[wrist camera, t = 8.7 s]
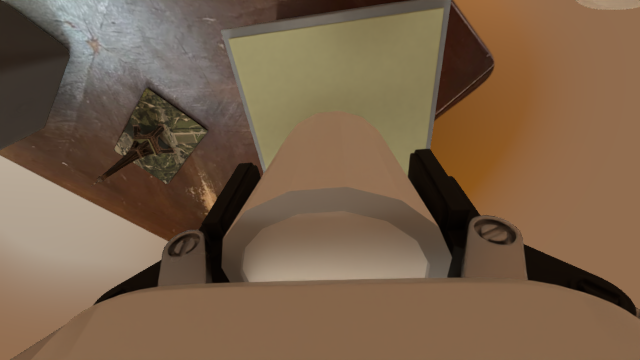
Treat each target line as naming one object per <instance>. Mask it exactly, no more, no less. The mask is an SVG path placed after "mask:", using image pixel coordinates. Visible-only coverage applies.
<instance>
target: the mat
mask: <svg viewBox="0 0 640 360" xmlns="http://www.w3.org/2000/svg"><path fill="white" fill-rule="evenodd" d="M443 14H444V8H435V9H428V10H421V11H414V12H407V13H400V14H393V15H386V16H380V17H373V18H366V19H359V20H352V21H345V22H338V23H331V24H324V25H317V26H311V27H304V28H297V29H290V30H283V31H276V32H269V33H262V34H255V35H248V36H242V37H235V38H229V39H228V40H229V44H230V47H231V50H232V54H233V57H234V61H235V64H236V68H237V71H238V74H239V78H240V81H241V85H242V88H243V92H244V95H245V98H246V102H247V105H248V109H249V112H250V116H251V119H252V122H253V126H254V129H255V133H256V136H257V140H258V143H259V146H260V150H261V153H262V157H263V160H264V164H265V167H266V169H267V168H268V166H269V165H270V163H271V162H272V160H273V158H274V157H275V155H276V154H277V152H278V150H279V149H280V147H281V146H282V144H283V142H284V141H285V139H286V138H287V137H288V135H289V134H290V133H291V131H292V130H293V129H294V127H295V126H296V125H297V124H298V123H300V122H302V121H303V120H305V119H307V118H309V117H311V116H312V115H314V114H316V113H323V112H332V111H343V112H346V113H350V114H353V115H357V116H360V117H362V118H364V119H365V120H366V121H367V122H369V123H370V124H371V125H372V126H374V127H375V128H376V129H377V130H378V131H379V132H380V134H381V135H382V137H383V139H384V140H385V142H386V143H387V145H388V147H389V148H390V150H391V151H392V153H393V155H394V156H395V158H396V159H397V161H398V163H399V164H400V166H401V167H402V169H403V171H404V172H405V174H406V175H407V177H408V169H409V159H410V154H411V153H414V152H415V150H417V149H426V144H427V136H428V128H429V121H430V113H431V106H432V98H433V90H434V83H435V75H436V67H437V60H438V52H439V45H440V37H441V29H442V22H443Z"/></svg>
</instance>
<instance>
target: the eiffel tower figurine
mask: <svg viewBox="0 0 640 360" xmlns="http://www.w3.org/2000/svg"><path fill="white" fill-rule="evenodd" d="M207 132H208V131H207V130H206V129H204V128H203V127H201V126H200V125H199V124H197V123H196V122H194V121H193V120H192V119H190V118H189V117H187V116H186V115H185V114H183V113H182V112H180V111H179V110H177V109H176V108H175V107H173V106H172V105H170V104H169V103H167V102H166V101H164V100H163V99H162V98H160V97H159V96H157V95H156V94H154V93H153V92H152V91H150V90H149V89H148V88H146V89H145V91H144V93H143V95H142V97H141V99H140V101H139V102H138V104H137V106H136V108H135V110H134V112H133V114H132V116H131V118H130V120H129V122H128V124H127V126H126V128H125V130H124V132H123V134H122V135H121V137H120V139H119V141H118V143H117V145H116V147H115V149H114V150H115V151H116V152H118V153H119V154H121V155H123V156H124V157H123V158H122V159H121V160H119V161H118V162H117V163H116V164H115V165H114V166H112V167H111V168H110V169H109V170H108V171H107V172H105V173H104V174H103V175H102V176H99V177H98V178H97V182H99V181H105V179H106V178H107V177H109V176H110V175H112V174H113V173H115V172H117V171H118V170H120V169H121V168H123V167H125V166H126V165H128V164H130V163H131V162H134V163H135V164H137V165H138V166H140V167H141V168H143V169H144V170H146V171H147V172H149V173H150V174H152V175H153V176H155V177H157V178H158V179H160V180H161V181H163V182H164V183H166V184H168V183H169V182H170V181H171V179H172V178H173V177H174V175H175V174H176V173H177V171H178V170H179V169H180V167H181V166H182V165H183V163H184V162H185V160H186V159H187V158H188V156H189V155H190V154H191V152H192V151H193V150H194V148H195V147H196V146H197V145H198V143H199V142H200V141H201V140H202V138H203V137H204V136H205V134H206V133H207ZM97 182H96V183H97ZM94 184H95V183H94ZM94 184H93V185H94ZM93 185H92V186H93Z"/></svg>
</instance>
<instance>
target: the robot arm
mask: <svg viewBox="0 0 640 360" xmlns="http://www.w3.org/2000/svg"><path fill="white" fill-rule="evenodd" d="M260 179H261V177H260V173H259V170H258V167H257V166H256V165H253V163H241V164H239V165H238V166H237V168H236V169H235V171H234V173H233V174H232V176H231V178H230V179H229V181H228V182H227V184H226V186H225V187H224V189H223V190H222V192H221V194H220V195H219V197H218V198H217V200H216V202H215V203H214V205H213V207H212V208H211V210H210V211H209V213H208V215H207V216H206V218H205V219H204V221H203V223H202V226H201V227H200V229H199V230H189V231H185V232H183V233H180V234H178V235H177V236H175V237H174V238H172V239H171V240H170V241H169V242H168V243H167V244H166V246H165V247H164V250H163V254H162V260H160V261H159V262H157V263H155V264H154V265H152V266H150V267H148V268H147V269H145V270H143V271H142V272H140V273H138V274H136V275H135V276H133V277H131V278H129V279H128V280H126V281H124V282H122V283H121V284H119V285H117V286H116V287H114V288H112V289H111V290H109V291H108V292H106V293H105V294H103V295H102V296H101V297H100V298H99V299H98V300H97V301H96V302H95V304H94V305H93V306H92V307H90V308H88V309H86V310H84V311H82V312H81V313H80V314H78V315H77V316H75V317H74V318H73V319H71V320H70V321H69V322H68V323H67V324H66V325H64V326H63V327H61V328H59V329H58V330H56V331H55V332H53V333H51V334H50V335H48V336H47V337H45V338H44V339H42V340H40V341H39V342H37V343H36V344H34V345H33V346H31V347H29V348H28V349H26V350H25V351H23V352H21V353H20V354H18V355H17V356H15V357H14V358H12V359H11V360H640V309H638V308H636V307H635V305H634V304H633V302H632V301H631V299H630V298H629V297H628V296H627V295H626V294H625V293H624V292H623V291H622V290H620V289H619V288H618V287H616V286H615V285H613V284H612V283H610V282H608V281H606V280H604V279H602V278H600V277H598V276H596V275H593V274H591V273H589V272H587V271H584V270H582V269H580V268H577V267H575V266H573V265H570V264H568V263H566V262H563V261H561V260H559V259H557V258H554V257H552V256H550V255H547V254H545V253H543V252H541V251H538V250H536V249H534V248H531V247H529V246H527V245H524V244H523V237H522V235H521V232H520V231H519V230H518V229H517V227H516V226H514V225H513V224H511V223H510V222H508V221H506V220H504V219H501V218H498V217H495V216H488V215H483V216H480V214H479V213H478V211H477V210H476V208H475V207H474V206H473V204H472V203H471V201H470V200H469V199H468V197H467V196H466V194H465V193H464V191H463V190H462V189H461V187H460V186H459V184H458V183H457V181H456V180H455V179H454V178H453V177H452V176H448V175H447V174H446V172H445V171H444V169H443V168H442V166H441V165H440V163H439V162H438V160H437V159H436V157H435V156H434V154H433V153H432V151H431V150H430V149H417V150H415V152H414V153H411V154H410V159H409V169H408V179H409V180H410V182H411V183H412V185H413V187H414V188H415V190H416V191H417V193H418V195H419V196H420V198H421V199H422V201H423V203H424V204H425V206H426V207H427V209H428V210H429V212H430V214H431V215H432V217H433V218H434V220H435V222H436V223H437V225H438V226H439V229H440V231H441V233H442V236H443V238H444V240H445V242H446V245H447V247H448V249H449V252H450V254H451V256H452V260H451V264H450V267H449V271H448V275H447V278H396V279H348V280H307V281H270V282H236V283H230V281H229V279H228V278H227V276H226V274H225V273H224V271H223V269H222V247H223V238H224V236H225V235H226V233H227V232H228V230H229V228H230V227H231V225H232V224H233V222H234V220H235V219H236V217H237V216H238V214H239V212H240V211H241V209H242V208H243V206H244V205H245V203H246V201H247V200H248V198H249V197H250V195H251V193H252V192H253V190H254V189H255V187H256V185H257V184H258V182H259V181H260Z"/></svg>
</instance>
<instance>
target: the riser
mask: <svg viewBox="0 0 640 360" xmlns="http://www.w3.org/2000/svg"><path fill="white" fill-rule="evenodd" d="M450 4H451V0H411V1H402V2H394V3H387V4H380V5H373V6H367V7H360V8H353V9H347V10H340V11H333V12H327V13H320V14H313V15H307V16H300V17H293V18H287V19H280V20H274V21H268V22H263V23H257V24H252V25H246V26H241V27H235V28H230V29H224V30H221V33H222V36H223V39H224V43H225V46H226V49H227V52H228V56H229V59H230V62H231V66H232V69H233V72H234V76H235V79H236V82H237V86H238V89H239V92H240V96H241V99H242V102H243V106H244V109H245V112H246V116H247V119H248V122H249V126H250V129H251V132H252V135H253V139H254V142H255V145H256V149H257V152H258V155H259V159H260V162H261V165H262V169H263V172H264V173H265V171H266V167H265V164H264V160H263V157H262V153H261V150H260V146H259V143H258V140H257V136H256V133H255V129H254V126H253V122H252V119H251V116H250V112H249V109H248V105H247V102H246V98H245V95H244V92H243V88H242V85H241V81H240V78H239V74H238V71H237V68H236V64H235V61H234V57H233V54H232V50H231V47H230V44H229V40H228V39H229V38H235V37H242V36H248V35H255V34H262V33H269V32H276V31H283V30H290V29H297V28H304V27H311V26H317V25H324V24H331V23H338V22H345V21H352V20H359V19H366V18H373V17H380V16H386V15H393V14H400V13H407V12H414V11H421V10H428V9H435V8H444V14H443V22H442V29H441V37H440V45H439V52H438V60H437V67H436V75H435V83H434V90H433V98H432V106H431V113H430V121H429V128H428V136H427V144H426V149H430V145H431V138H432V131H433V124H434V117H435V110H436V103H437V96H438V89H439V82H440V75H441V68H442V61H443V54H444V46H445V39H446V32H447V25H448V18H449V11H450Z"/></svg>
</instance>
